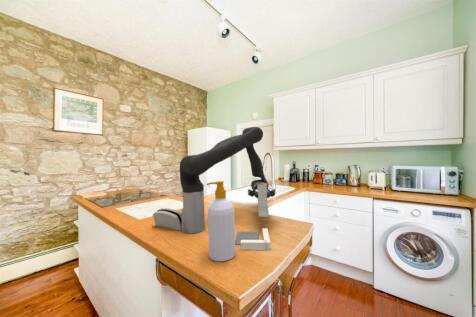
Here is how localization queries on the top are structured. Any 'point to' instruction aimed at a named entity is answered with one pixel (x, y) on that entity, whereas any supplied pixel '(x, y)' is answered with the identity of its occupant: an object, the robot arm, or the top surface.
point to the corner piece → (257, 242)
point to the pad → (246, 236)
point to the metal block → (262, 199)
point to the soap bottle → (221, 226)
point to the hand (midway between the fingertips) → (262, 195)
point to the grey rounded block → (168, 218)
